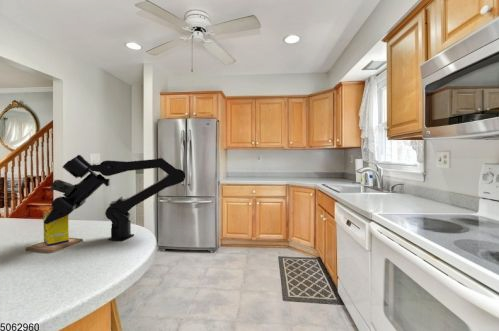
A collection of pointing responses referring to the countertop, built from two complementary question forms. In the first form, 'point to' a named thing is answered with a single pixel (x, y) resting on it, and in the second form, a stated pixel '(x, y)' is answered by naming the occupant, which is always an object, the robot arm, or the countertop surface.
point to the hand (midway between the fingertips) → (50, 220)
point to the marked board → (50, 249)
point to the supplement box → (56, 230)
